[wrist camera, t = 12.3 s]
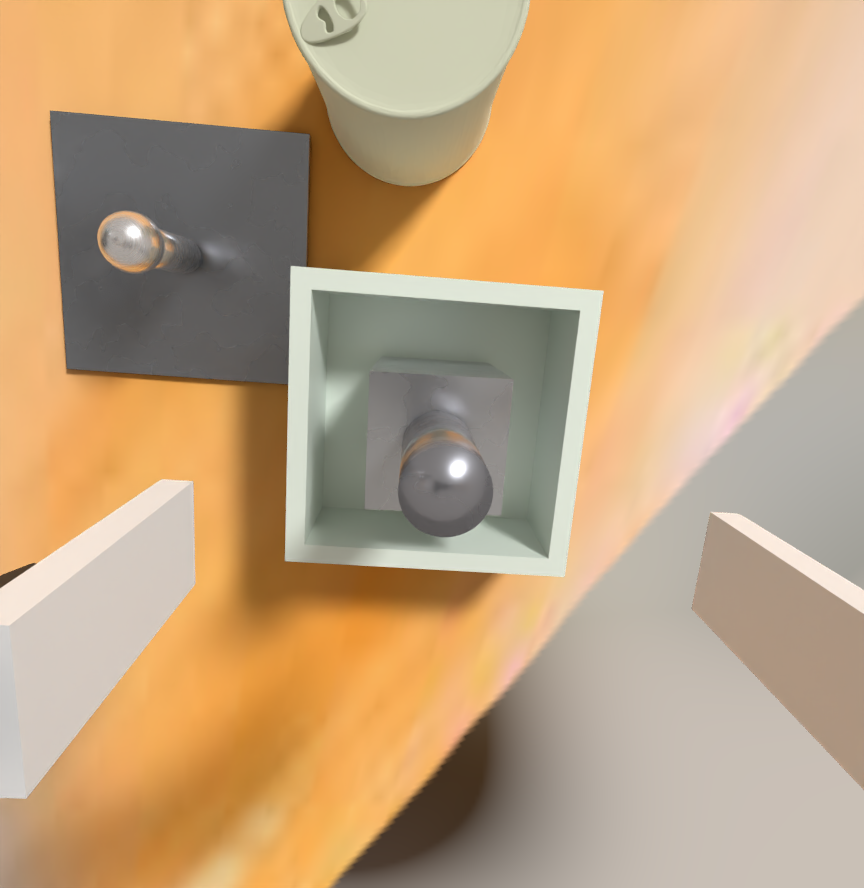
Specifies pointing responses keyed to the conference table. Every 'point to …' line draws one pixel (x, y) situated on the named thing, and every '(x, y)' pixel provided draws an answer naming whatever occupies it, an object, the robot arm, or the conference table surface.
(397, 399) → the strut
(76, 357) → the stud plate
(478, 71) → the can
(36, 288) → the conference table surface
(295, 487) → the bin
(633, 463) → the conference table surface
